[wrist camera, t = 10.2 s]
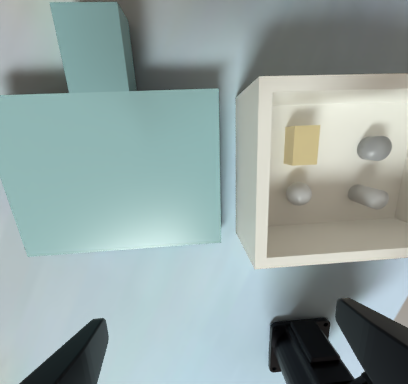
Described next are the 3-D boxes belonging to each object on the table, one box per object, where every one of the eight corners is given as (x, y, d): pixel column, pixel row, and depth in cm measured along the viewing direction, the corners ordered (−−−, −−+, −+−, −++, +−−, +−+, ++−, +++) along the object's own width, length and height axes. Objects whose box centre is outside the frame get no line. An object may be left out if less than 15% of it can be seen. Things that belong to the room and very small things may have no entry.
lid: (217, 229, 21) (221, 242, 19) (46, 241, 20) (27, 256, 18) (212, 19, 16) (217, 1, 13) (-21, 22, 15) (-61, 3, 12)
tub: (392, 222, 21) (469, 252, 15) (235, 232, 20) (254, 269, 14) (417, 93, 18) (522, 71, 13) (235, 97, 17) (259, 76, 12)
